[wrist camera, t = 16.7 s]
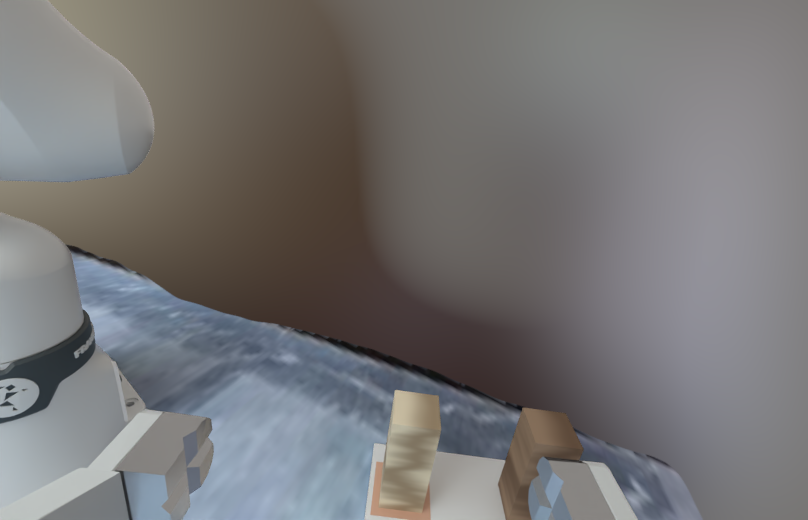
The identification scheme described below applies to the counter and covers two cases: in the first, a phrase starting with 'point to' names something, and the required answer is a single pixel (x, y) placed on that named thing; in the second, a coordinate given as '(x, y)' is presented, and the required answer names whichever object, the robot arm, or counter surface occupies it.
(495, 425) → the counter surface
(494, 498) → the white mat
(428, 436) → the birch pillar
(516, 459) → the walnut pillar
